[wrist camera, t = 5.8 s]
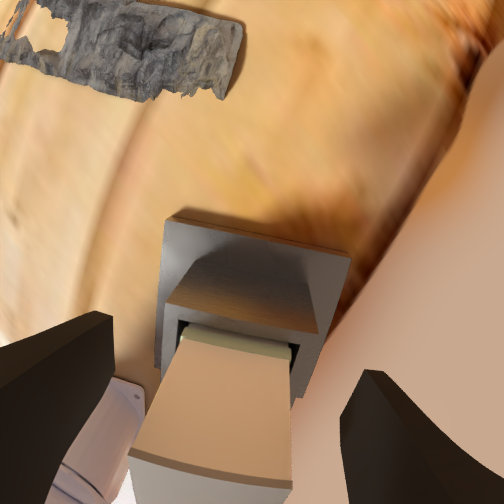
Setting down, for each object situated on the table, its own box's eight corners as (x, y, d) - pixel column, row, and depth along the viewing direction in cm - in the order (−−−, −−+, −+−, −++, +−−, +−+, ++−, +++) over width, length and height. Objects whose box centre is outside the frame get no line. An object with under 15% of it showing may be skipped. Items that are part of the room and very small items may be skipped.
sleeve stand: (301, 388, 20) (306, 456, 15) (158, 358, 21) (127, 418, 15) (347, 252, 17) (378, 300, 12) (170, 216, 17) (123, 247, 12)
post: (268, 391, 16) (259, 537, 8) (187, 374, 16) (137, 512, 8) (289, 324, 14) (295, 488, 6) (196, 305, 14) (124, 453, 6)
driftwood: (263, 37, 14) (261, 23, 12) (206, 141, 17) (196, 140, 15) (30, -13, 13) (15, -20, 11) (-6, 60, 15) (-23, 57, 13)
